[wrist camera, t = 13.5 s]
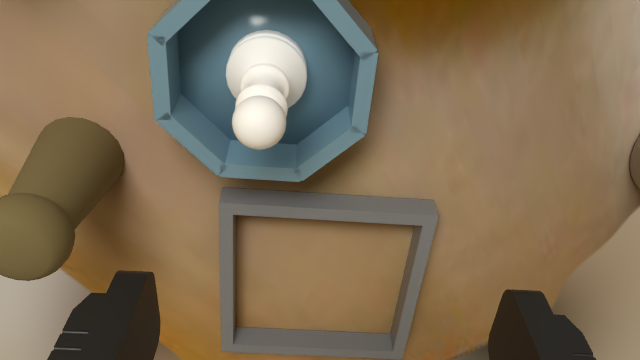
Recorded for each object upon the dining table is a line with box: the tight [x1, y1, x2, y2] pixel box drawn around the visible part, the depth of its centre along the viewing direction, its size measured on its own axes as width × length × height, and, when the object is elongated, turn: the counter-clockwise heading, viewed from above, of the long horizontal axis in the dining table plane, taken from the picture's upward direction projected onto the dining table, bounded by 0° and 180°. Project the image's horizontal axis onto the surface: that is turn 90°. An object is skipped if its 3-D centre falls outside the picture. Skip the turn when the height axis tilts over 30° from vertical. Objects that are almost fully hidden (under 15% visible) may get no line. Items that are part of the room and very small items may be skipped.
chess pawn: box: [226, 30, 307, 150], centre depth 31 cm, size 5×5×9 cm
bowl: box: [147, 0, 378, 182], centre depth 34 cm, size 13×13×4 cm
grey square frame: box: [219, 187, 439, 360], centre depth 45 cm, size 16×16×2 cm
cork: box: [0, 117, 125, 281], centre depth 35 cm, size 6×6×11 cm
